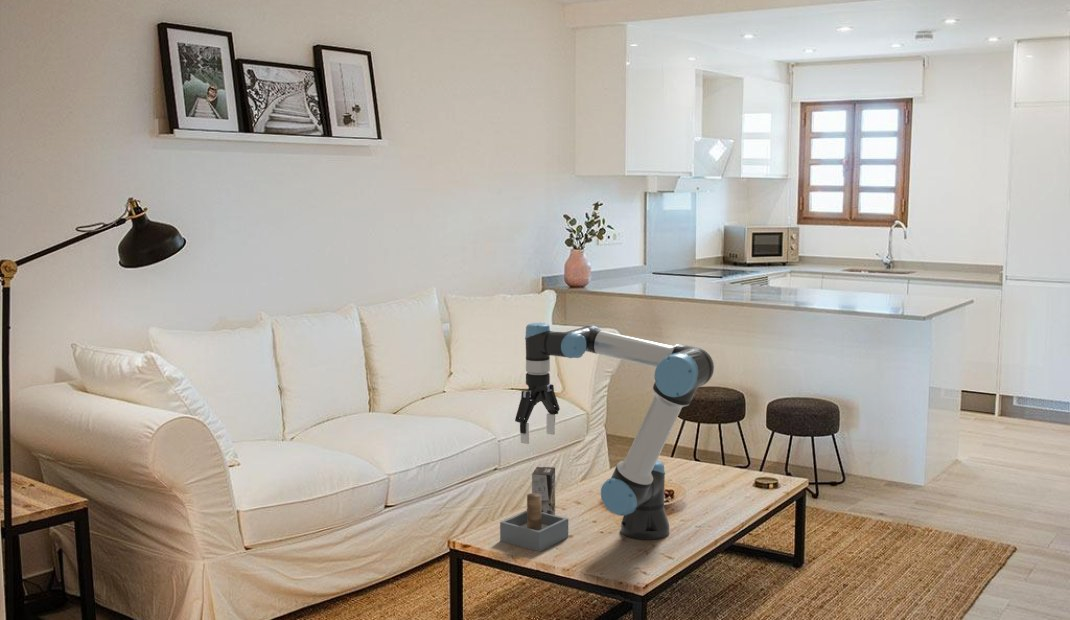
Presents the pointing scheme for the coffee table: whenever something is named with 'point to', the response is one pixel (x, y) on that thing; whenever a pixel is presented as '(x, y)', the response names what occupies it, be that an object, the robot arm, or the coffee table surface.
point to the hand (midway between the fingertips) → (537, 438)
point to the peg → (534, 511)
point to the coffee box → (545, 487)
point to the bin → (534, 531)
